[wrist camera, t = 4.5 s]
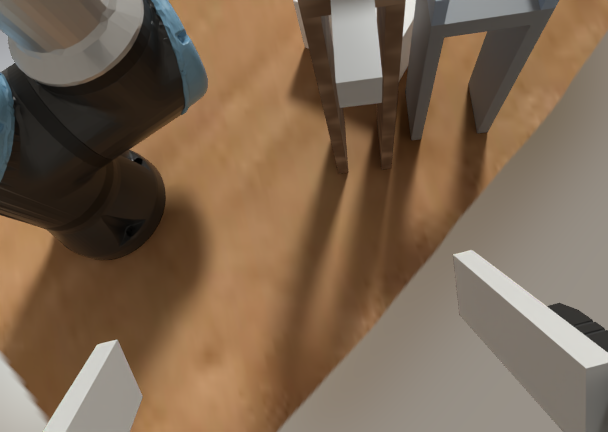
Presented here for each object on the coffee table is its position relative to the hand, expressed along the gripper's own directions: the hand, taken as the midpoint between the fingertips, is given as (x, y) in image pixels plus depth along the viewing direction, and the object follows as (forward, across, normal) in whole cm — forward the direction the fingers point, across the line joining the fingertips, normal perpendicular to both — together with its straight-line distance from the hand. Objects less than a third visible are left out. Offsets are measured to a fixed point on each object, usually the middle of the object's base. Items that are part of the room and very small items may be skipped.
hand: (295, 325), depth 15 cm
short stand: (+36, +23, +1) cm, 43 cm away
